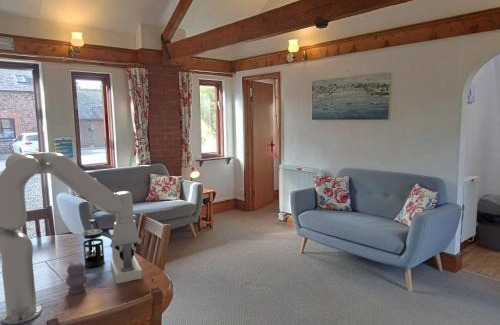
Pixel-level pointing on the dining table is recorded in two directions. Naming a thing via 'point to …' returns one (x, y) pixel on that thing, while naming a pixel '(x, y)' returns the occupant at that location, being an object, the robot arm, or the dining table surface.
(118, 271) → the white dispenser with tray
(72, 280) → the cat figurine
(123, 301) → the dining table surface
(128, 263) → the peg
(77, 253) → the dining table surface
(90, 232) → the french press
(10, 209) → the robot arm
